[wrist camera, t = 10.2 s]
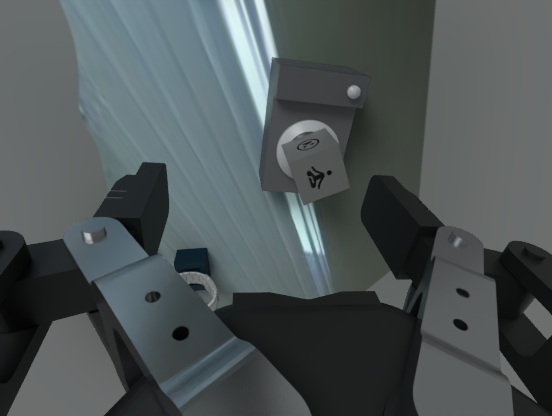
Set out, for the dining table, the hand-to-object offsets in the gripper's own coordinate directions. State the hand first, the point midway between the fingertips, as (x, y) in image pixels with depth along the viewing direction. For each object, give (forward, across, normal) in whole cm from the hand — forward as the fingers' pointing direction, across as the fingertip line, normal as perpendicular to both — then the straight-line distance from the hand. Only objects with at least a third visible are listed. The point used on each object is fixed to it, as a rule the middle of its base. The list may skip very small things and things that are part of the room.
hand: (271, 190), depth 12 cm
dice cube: (+21, -7, +7) cm, 23 cm away
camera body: (+27, -7, +5) cm, 28 cm away
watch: (+26, +6, +28) cm, 39 cm away
